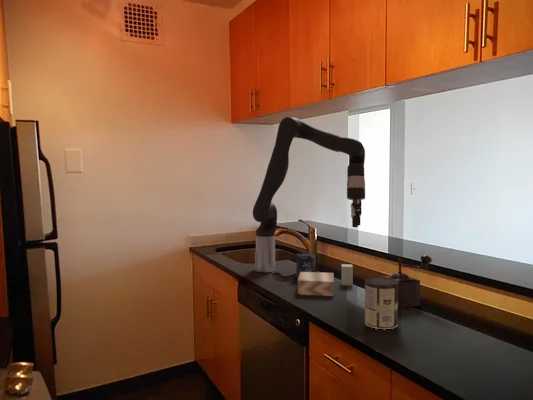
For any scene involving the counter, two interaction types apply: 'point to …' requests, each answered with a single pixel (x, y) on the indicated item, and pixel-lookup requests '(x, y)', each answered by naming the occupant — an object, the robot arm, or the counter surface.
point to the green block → (347, 274)
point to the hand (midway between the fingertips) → (356, 226)
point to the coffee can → (381, 303)
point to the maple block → (316, 283)
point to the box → (305, 263)
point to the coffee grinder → (409, 284)
